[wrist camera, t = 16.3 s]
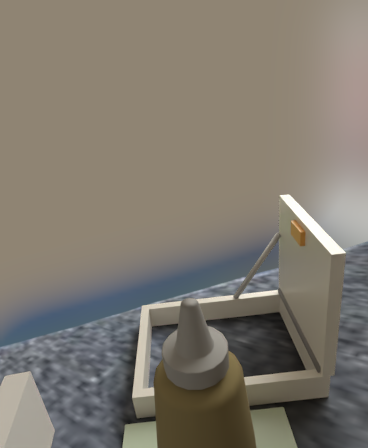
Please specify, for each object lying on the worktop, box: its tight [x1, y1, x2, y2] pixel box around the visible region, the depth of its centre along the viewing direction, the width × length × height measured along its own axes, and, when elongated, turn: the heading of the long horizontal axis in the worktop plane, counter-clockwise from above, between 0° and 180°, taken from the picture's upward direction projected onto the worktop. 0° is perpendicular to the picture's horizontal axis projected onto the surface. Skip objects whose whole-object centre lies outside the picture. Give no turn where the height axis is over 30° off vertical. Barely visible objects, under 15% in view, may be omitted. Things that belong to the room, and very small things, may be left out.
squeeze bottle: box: [154, 298, 256, 448], centre depth 26 cm, size 8×8×18 cm
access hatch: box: [132, 195, 346, 418], centre depth 40 cm, size 20×15×17 cm
